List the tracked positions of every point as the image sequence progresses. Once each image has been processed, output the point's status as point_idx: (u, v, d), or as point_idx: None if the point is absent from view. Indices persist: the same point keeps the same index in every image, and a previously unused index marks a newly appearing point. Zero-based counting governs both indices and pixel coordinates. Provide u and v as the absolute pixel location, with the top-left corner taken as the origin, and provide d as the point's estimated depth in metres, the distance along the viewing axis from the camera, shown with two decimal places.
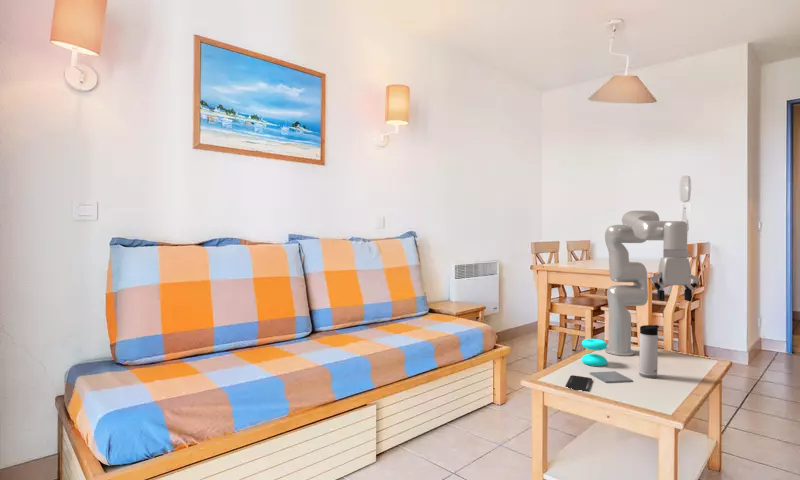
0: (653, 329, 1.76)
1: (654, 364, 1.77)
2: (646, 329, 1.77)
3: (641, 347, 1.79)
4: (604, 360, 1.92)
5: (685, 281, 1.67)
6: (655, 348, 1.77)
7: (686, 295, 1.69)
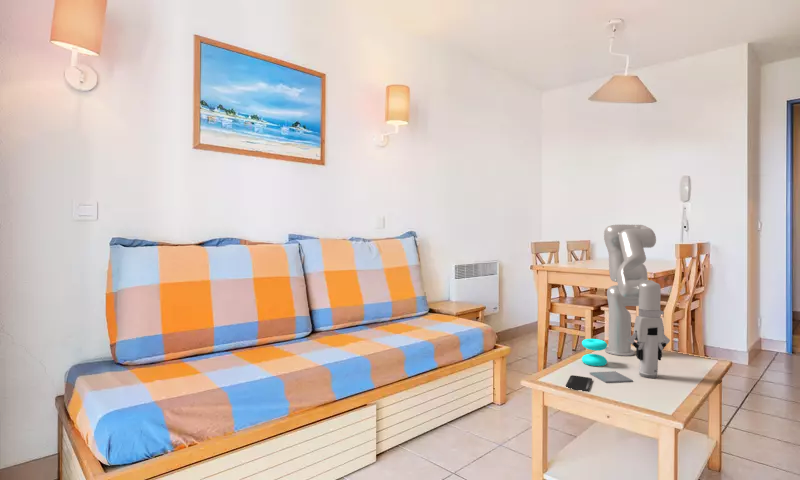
0: (654, 329, 1.76)
1: (655, 364, 1.77)
2: None
3: None
4: (604, 360, 1.92)
5: (658, 339, 1.77)
6: (655, 348, 1.76)
7: None
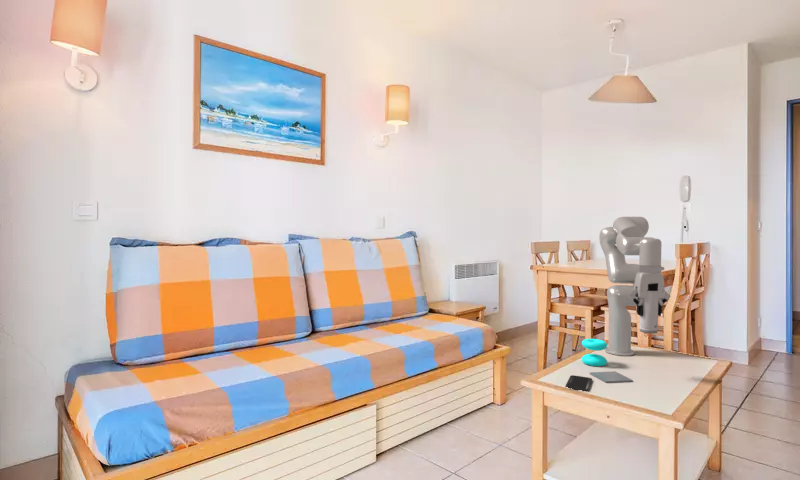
0: (654, 285, 1.76)
1: (655, 320, 1.77)
2: None
3: (642, 303, 1.79)
4: (604, 360, 1.92)
5: (658, 295, 1.77)
6: (656, 304, 1.77)
7: None
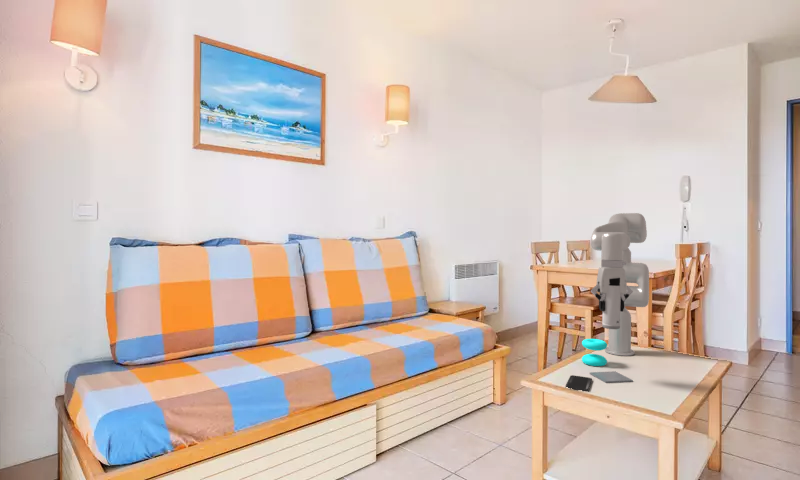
0: (616, 279, 1.73)
1: (617, 315, 1.74)
2: (609, 279, 1.74)
3: (604, 298, 1.76)
4: (604, 360, 1.92)
5: (620, 290, 1.74)
6: (618, 299, 1.74)
7: None
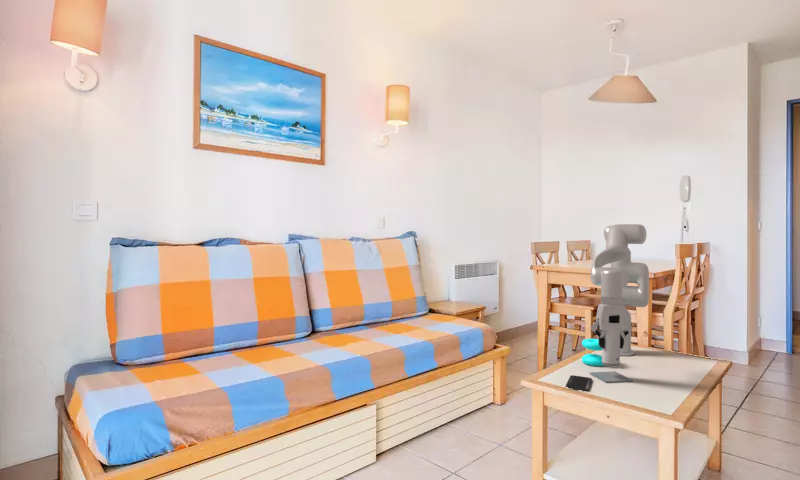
0: (615, 317, 1.74)
1: (616, 353, 1.74)
2: None
3: None
4: None
5: (620, 327, 1.75)
6: (617, 336, 1.74)
7: None
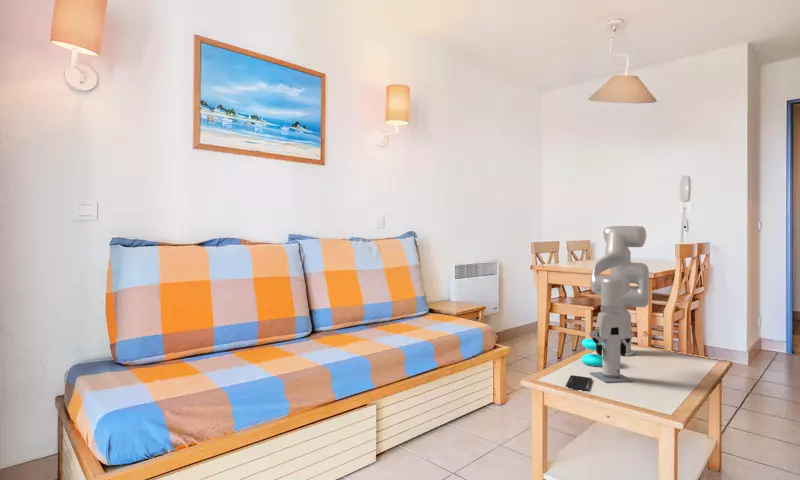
0: (615, 328, 1.74)
1: (617, 364, 1.74)
2: None
3: (604, 347, 1.77)
4: None
5: (620, 336, 1.75)
6: (617, 348, 1.74)
7: (621, 349, 1.77)
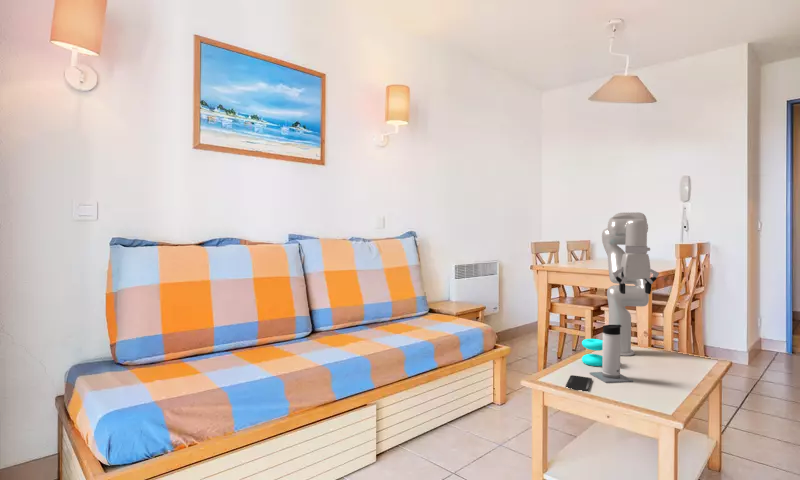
0: (615, 328, 1.74)
1: (617, 364, 1.74)
2: (608, 328, 1.75)
3: (604, 347, 1.77)
4: None
5: (644, 275, 1.79)
6: (617, 348, 1.74)
7: (646, 288, 1.81)
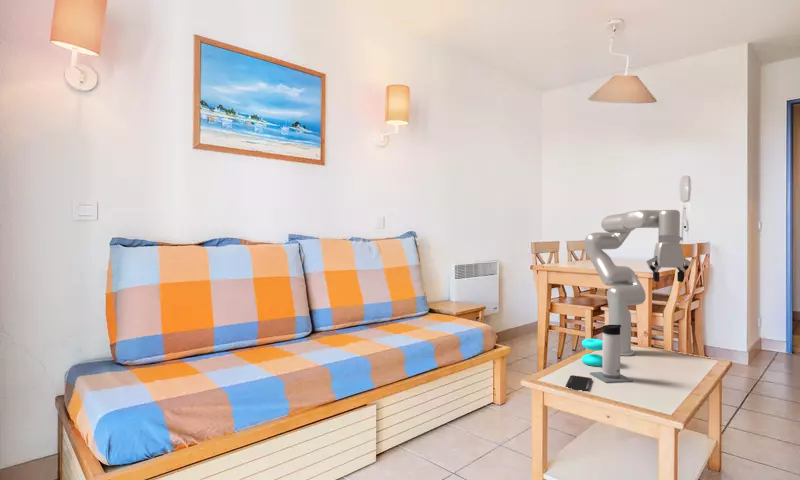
0: (615, 329, 1.74)
1: (617, 364, 1.74)
2: (608, 329, 1.75)
3: (604, 347, 1.77)
4: None
5: (677, 263, 1.85)
6: (617, 348, 1.74)
7: (679, 276, 1.88)
